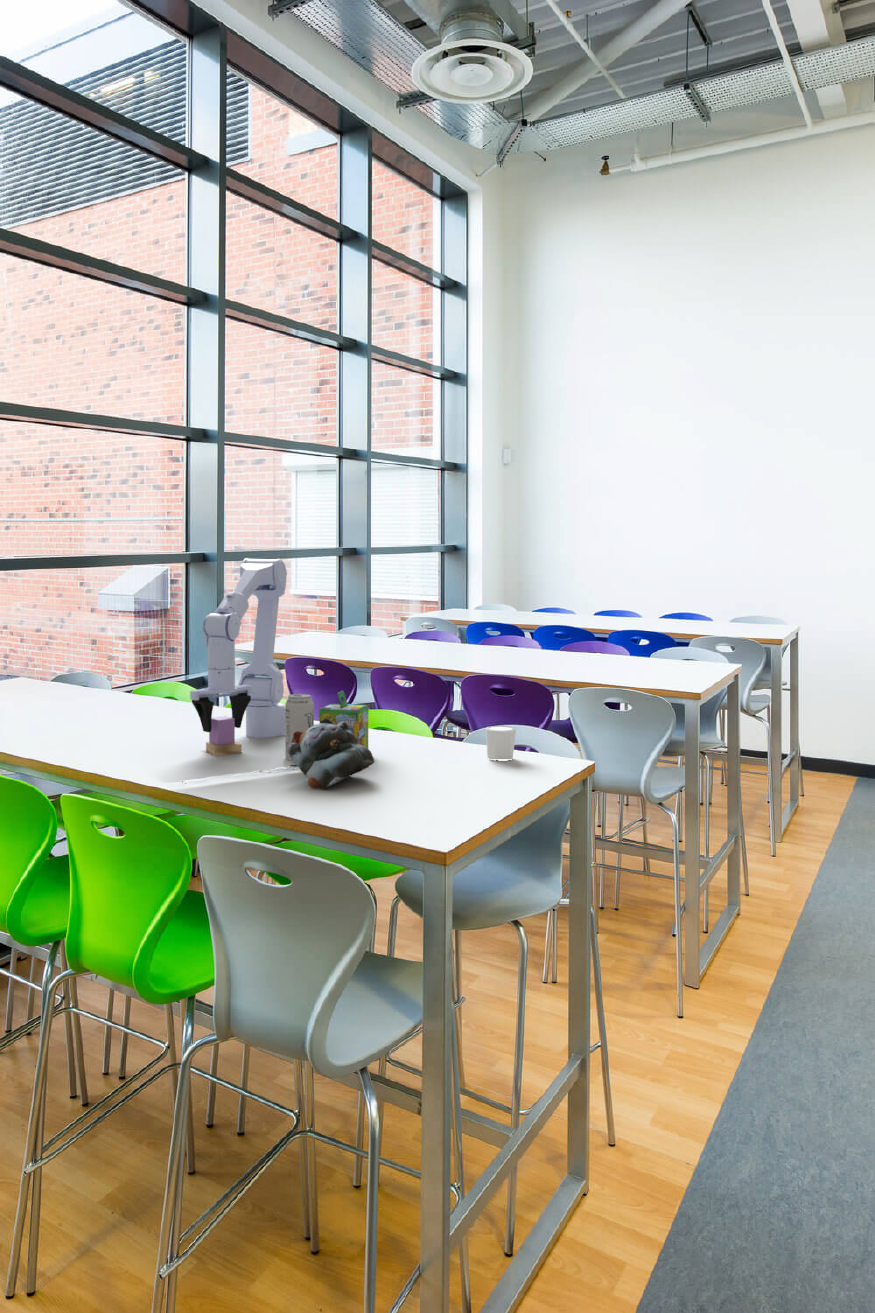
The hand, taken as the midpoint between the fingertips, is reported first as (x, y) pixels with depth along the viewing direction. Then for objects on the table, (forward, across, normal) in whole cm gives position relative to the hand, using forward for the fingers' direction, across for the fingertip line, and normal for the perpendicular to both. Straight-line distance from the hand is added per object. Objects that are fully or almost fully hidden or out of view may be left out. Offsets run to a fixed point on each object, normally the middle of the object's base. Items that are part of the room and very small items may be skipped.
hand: (222, 729), depth 198 cm
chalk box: (+7, -20, +18) cm, 28 cm away
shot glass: (+7, -45, +43) cm, 62 cm away
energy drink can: (+7, -8, +17) cm, 20 cm away
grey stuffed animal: (+7, -3, +33) cm, 34 cm away
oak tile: (+5, 0, 0) cm, 5 cm away
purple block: (+3, 0, 0) cm, 3 cm away
